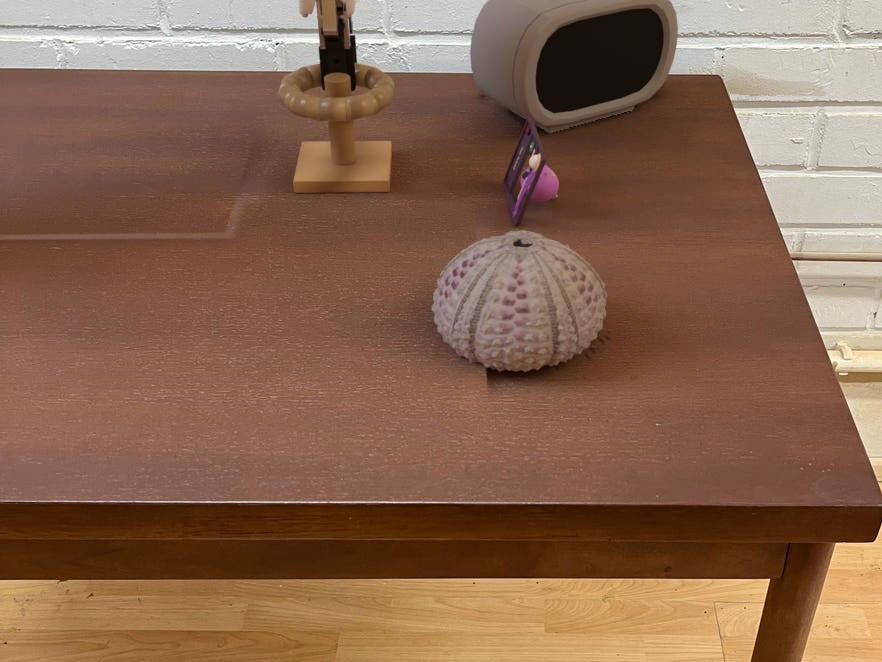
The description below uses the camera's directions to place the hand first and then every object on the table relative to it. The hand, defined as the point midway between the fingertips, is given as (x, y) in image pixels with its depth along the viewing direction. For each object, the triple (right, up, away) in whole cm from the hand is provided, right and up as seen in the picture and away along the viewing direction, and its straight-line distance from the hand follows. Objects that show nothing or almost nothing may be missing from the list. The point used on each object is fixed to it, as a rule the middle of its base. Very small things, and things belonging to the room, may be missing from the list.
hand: (340, 82), depth 97 cm
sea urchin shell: (+16, -27, -19) cm, 37 cm away
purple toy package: (+19, -13, -3) cm, 23 cm away
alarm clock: (+24, +2, +14) cm, 27 cm away
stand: (0, -8, +2) cm, 8 cm away
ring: (0, -2, -4) cm, 4 cm away
